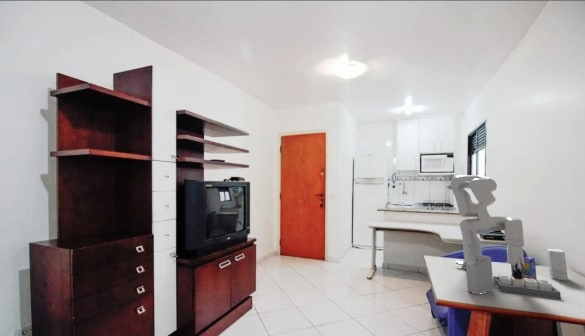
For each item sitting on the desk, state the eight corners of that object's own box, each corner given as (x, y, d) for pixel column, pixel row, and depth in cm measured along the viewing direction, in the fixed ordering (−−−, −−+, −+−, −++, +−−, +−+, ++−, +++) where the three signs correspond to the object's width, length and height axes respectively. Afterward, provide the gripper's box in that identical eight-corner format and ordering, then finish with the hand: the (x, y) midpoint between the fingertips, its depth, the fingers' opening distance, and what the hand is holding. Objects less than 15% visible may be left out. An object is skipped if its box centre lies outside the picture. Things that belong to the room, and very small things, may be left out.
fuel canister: (474, 296, 128) (470, 244, 129) (464, 292, 132) (461, 242, 134) (494, 291, 134) (490, 241, 135) (483, 287, 138) (480, 239, 140)
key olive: (527, 287, 132) (526, 280, 132) (523, 283, 136) (523, 277, 136) (538, 288, 130) (537, 281, 130) (534, 285, 134) (533, 278, 135)
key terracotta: (514, 285, 134) (513, 279, 134) (511, 282, 139) (510, 276, 139) (524, 286, 132) (524, 280, 133) (521, 283, 137) (520, 277, 137)
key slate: (501, 284, 137) (500, 277, 137) (499, 281, 141) (498, 274, 141) (511, 285, 135) (511, 279, 135) (508, 282, 139) (508, 276, 139)
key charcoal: (540, 288, 130) (540, 282, 130) (536, 285, 134) (536, 278, 134) (551, 290, 128) (551, 283, 128) (547, 286, 132) (547, 280, 132)
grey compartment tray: (500, 291, 133) (499, 285, 133) (493, 281, 146) (493, 276, 146) (560, 298, 123) (560, 292, 123) (548, 287, 135) (547, 282, 135)
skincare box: (568, 281, 143) (565, 252, 144) (551, 279, 147) (549, 250, 148) (564, 276, 150) (562, 249, 151) (548, 274, 154) (546, 247, 155)
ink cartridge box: (511, 276, 153) (509, 251, 154) (515, 274, 155) (513, 249, 156) (532, 281, 144) (530, 254, 145) (537, 279, 147) (534, 253, 148)
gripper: (501, 239, 145) (504, 273, 144) (509, 244, 132) (512, 282, 130) (519, 240, 142) (522, 274, 140) (528, 245, 128) (532, 284, 127)
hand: (517, 278), depth 135 cm, fingers closed
